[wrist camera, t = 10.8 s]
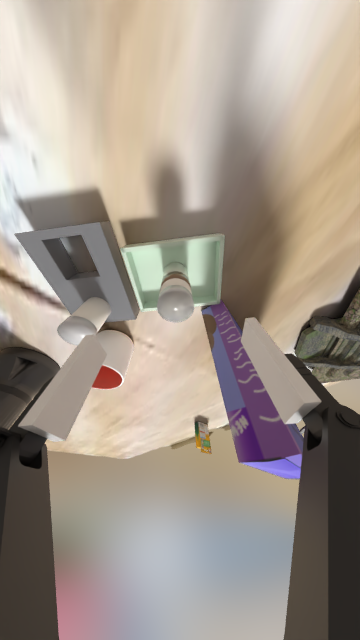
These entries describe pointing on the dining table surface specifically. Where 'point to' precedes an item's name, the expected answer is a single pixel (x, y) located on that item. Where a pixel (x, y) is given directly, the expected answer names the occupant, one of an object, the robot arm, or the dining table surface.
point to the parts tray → (192, 252)
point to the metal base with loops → (333, 345)
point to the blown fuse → (175, 294)
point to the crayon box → (202, 437)
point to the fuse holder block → (84, 278)
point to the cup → (113, 359)
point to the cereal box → (250, 402)
